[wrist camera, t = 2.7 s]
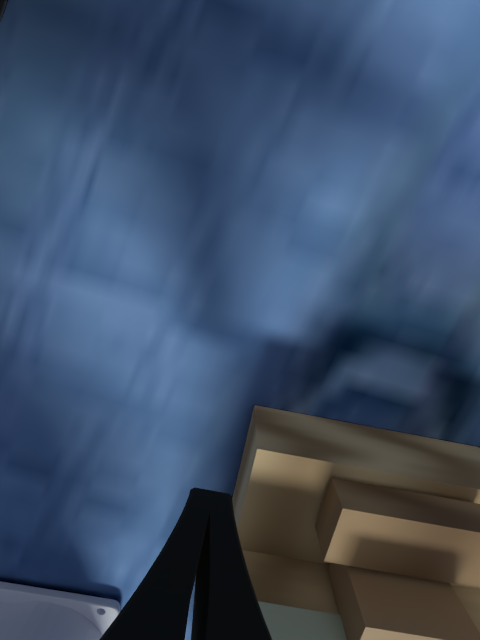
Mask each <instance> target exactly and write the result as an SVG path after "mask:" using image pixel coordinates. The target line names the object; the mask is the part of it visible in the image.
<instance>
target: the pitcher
mask: <svg viewBox="0 0 480 640" xmlns="http://www.w3.org/2000/svg"><path fill="white" fill-rule="evenodd" d="M7 1H8V0H0V21H1V19H2V16H3V13H4V10H5V7H6V4H7Z"/></svg>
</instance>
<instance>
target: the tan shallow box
mask: <svg viewBox="0 0 480 640" xmlns="http://www.w3.org/2000/svg"><path fill="white" fill-rule="evenodd" d="M331 477H333V478H338V479H344V480H350V481H355V482H361V483H366V484H372V485H377V486H383V487H388V488H394V489H399V490H405V491H410V492H416V493H422V494H427V495H433V496H438V497H444V498H449V499H455V500H460V501H466V502H471V503H477V504H480V447H476V446H470V445H465V444H460V443H454V442H449V441H444V440H438V439H433V438H428V437H422V436H417V435H412V434H406V433H401V432H396V431H390V430H385V429H380V428H374V427H369V426H364V425H358V424H353V423H348V422H342V421H337V420H332V419H326V418H321V417H316V416H310V415H305V414H300V413H294V412H289V411H284V410H278V409H273V408H268V407H262V406H257V405H254V409H253V413H252V418H251V422H250V426H249V430H248V434H247V439H246V443H245V447H244V451H243V456H242V460H241V464H240V468H239V472H238V477H237V481H236V485H235V489H234V493H233V498H232V503H233V510H234V516H235V521H236V526H237V531H238V535H239V540H240V544H241V547H242V551H243V555H244V558H245V562H246V566H247V569H248V572H249V576H250V579H251V582H252V585H253V588H254V591H255V594H256V597H257V600H258V601H259V602H266V603H272V604H278V605H284V606H290V607H296V608H302V609H308V610H314V611H321V612H327V613H333V614H339V613H338V609H337V605H336V601H335V597H334V593H333V589H332V585H331V581H330V577H329V573H328V568H329V565H330V562H324V560H323V556H322V552H321V548H320V544H319V540H318V536H317V532H316V528H315V524H316V521H317V518H318V515H319V512H320V509H321V506H322V503H323V500H324V497H325V494H326V491H327V488H328V485H329V482H330V479H331ZM450 584H451V586H452V588H453V589H454V591H455V593H456V594H457V596H458V598H459V599H460V601H461V603H462V604H463V606H464V608H465V609H466V611H467V613H468V614H469V616H470V618H471V619H472V621H473V623H474V624H475V626H476V628H477V629H478V631H479V633H480V588H477V587H471V586H465V585H459V584H453V583H450Z"/></svg>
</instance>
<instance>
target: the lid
mask: <svg viewBox="0 0 480 640" xmlns="http://www.w3.org/2000/svg"><path fill="white" fill-rule="evenodd" d="M328 573H329V577H330V581H331V585H332V589H333V593H334V597H335V601H336V605H337V609H338V613H339V614H333V613H327V612H321V611H314V610H308V609H302V608H296V607H290V606H284V605H278V604H272V603H266V602H259V601H258V603H259V606H260V609H261V611H262V614H263V617H264V620H265V622H266V625H267V627H268V630H269V632H270V635H271V638H272V640H480V633H479V631H478V629H477V628H476V626H475V624H474V623H473V621H472V619H471V618H470V616H469V614H468V613H467V611H466V609H465V608H464V606H463V604H462V603H461V601H460V599H459V598H458V596H457V594H456V593H455V591H454V589H453V588H452V586H451V584H450V583H447V582H441V581H436V580H430V579H424V578H418V577H412V576H406V575H400V574H394V573H388V572H383V571H377V570H371V569H365V568H359V567H353V566H347V565H341V564H336V563H330V565H329V568H328Z"/></svg>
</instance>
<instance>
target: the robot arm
mask: <svg viewBox="0 0 480 640" xmlns="http://www.w3.org/2000/svg"><path fill="white" fill-rule="evenodd" d="M195 577H196V583H195V596H194V609H193V621H192V634H191V640H272V638H271V635H270V632H269V630H268V627H267V625H266V622H265V620H264V617H263V614H262V611H261V609H260V606H259V603H258V600H257V597H256V594H255V591H254V588H253V585H252V582H251V579H250V576H249V572H248V569H247V566H246V562H245V558H244V555H243V551H242V547H241V544H240V540H239V535H238V531H237V526H236V521H235V516H234V510H233V503H232V497H231V495H230V494H227V493H222V492H216V491H210V490H205V489H199V488H193V489H191V490H190V494H189V497H188V500H187V502H186V505H185V507H184V509H183V512H182V514H181V516H180V518H179V520H178V522H177V524H176V526H175V528H174V529H173V531H172V533H171V535H170V537H169V538H168V540H167V542H166V544H165V546H164V547H163V549H162V551H161V552H160V554H159V555H158V557H157V559H156V560H155V562H154V563H153V565H152V567H151V568H150V570H149V571H148V573H147V575H146V576H145V578H144V579H143V581H142V582H141V583H140V585H139V586H138V588H137V589H136V591H135V592H134V594H133V595H132V597H131V598H130V599H129V601H128V602H127V603H126V605H125V606H124V608H123V609H122V610H121V612H120V608H121V606H120V604H119V602H118V601H116V600H113V599H107V598H101V597H95V596H88V595H82V594H76V593H70V592H63V591H57V590H51V589H45V588H39V587H32V586H26V585H20V584H14V583H8V582H1V581H0V640H184V639H185V632H186V625H187V618H188V611H189V604H190V599H191V594H192V590H193V586H194V581H195Z"/></svg>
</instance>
